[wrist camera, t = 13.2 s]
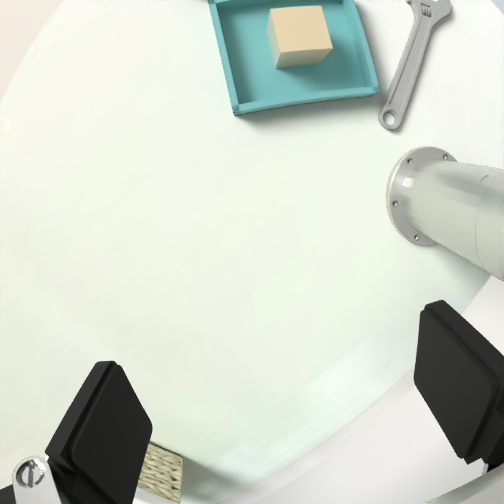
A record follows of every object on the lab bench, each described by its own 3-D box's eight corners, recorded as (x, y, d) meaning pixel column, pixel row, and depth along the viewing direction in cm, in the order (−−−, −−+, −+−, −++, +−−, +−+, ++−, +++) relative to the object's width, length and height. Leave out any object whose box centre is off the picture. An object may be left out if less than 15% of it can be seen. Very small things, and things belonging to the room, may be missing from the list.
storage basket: (64, 435, 49) (39, 484, 35) (76, 397, 45) (43, 455, 31) (163, 483, 54) (153, 535, 39) (193, 454, 49) (184, 518, 35)
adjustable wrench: (391, 134, 34) (397, 134, 32) (347, 105, 33) (352, 103, 31) (449, 3, 27) (455, 0, 25) (413, -23, 26) (418, -28, 24)
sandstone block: (309, 26, 29) (320, 5, 23) (319, 63, 30) (332, 48, 24) (266, 30, 29) (270, 8, 23) (275, 68, 30) (280, 52, 25)
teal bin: (341, -5, 27) (348, -15, 25) (370, 96, 32) (380, 92, 29) (210, 10, 28) (207, -1, 25) (234, 115, 32) (233, 112, 30)
